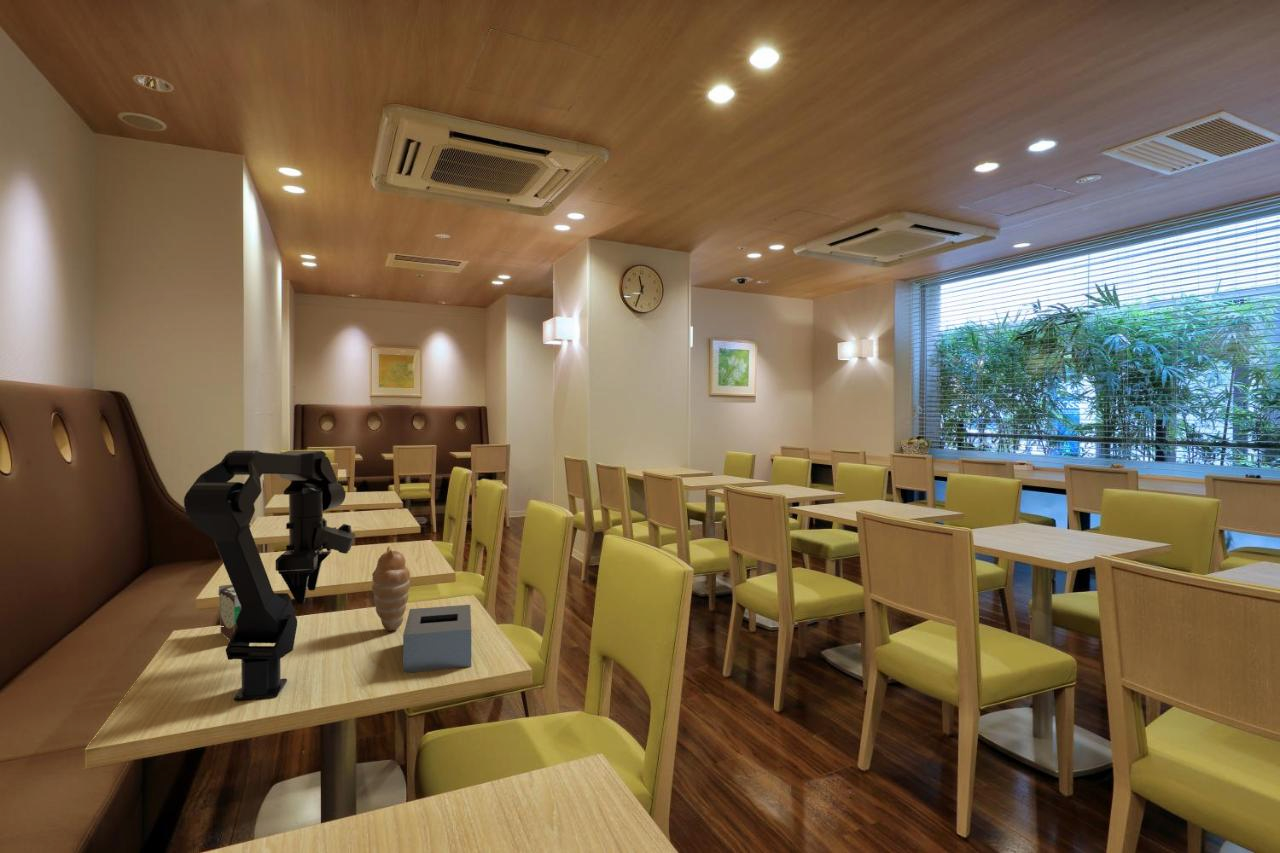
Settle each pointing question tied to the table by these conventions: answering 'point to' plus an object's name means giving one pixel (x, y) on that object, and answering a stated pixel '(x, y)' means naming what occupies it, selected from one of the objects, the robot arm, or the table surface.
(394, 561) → the tan ribbed tall piece
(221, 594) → the food container
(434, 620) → the box
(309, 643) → the table surface
